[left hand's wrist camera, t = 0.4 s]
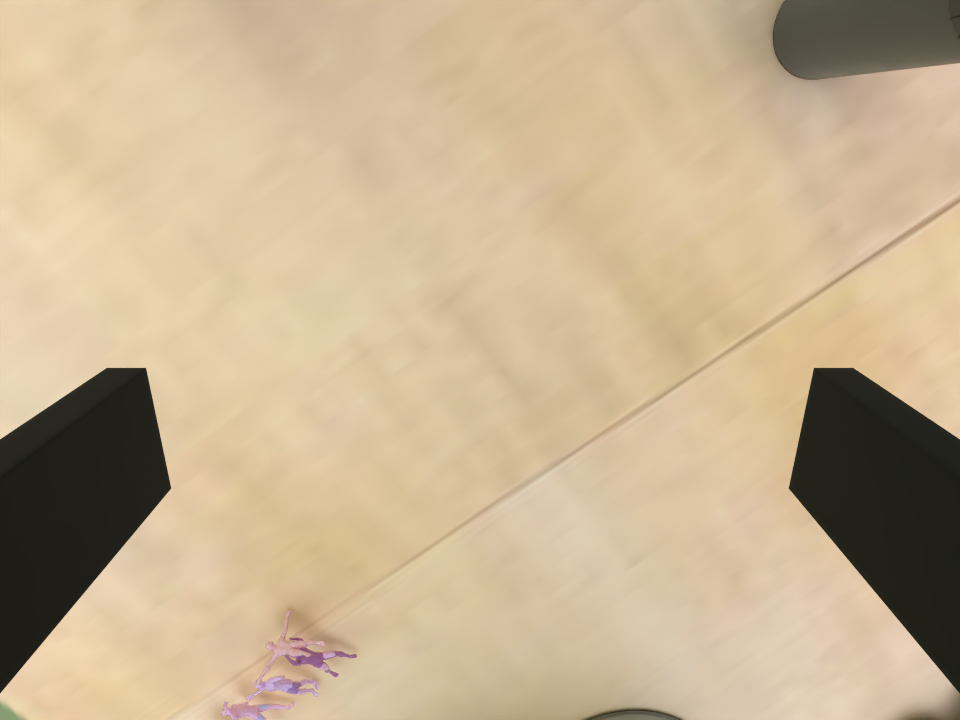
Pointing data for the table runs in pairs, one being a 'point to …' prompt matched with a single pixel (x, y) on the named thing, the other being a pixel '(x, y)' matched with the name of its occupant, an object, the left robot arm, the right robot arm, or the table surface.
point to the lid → (955, 15)
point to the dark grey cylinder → (863, 36)
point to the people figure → (280, 682)
